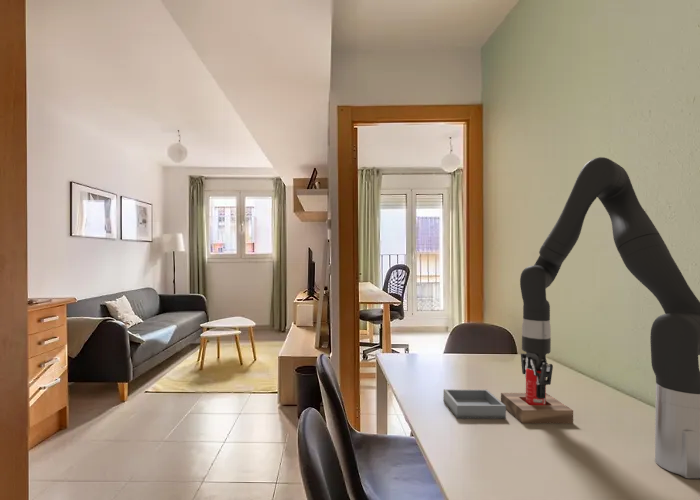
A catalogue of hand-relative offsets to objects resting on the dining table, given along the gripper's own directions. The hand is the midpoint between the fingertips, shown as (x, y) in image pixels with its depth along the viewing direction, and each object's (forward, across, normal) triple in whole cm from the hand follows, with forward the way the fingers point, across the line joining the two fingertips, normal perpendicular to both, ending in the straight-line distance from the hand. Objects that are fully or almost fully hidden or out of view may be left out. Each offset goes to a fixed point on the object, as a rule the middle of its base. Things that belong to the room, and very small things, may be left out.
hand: (535, 394), depth 117 cm
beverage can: (+5, 0, 0) cm, 5 cm away
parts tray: (+5, +3, +17) cm, 18 cm away
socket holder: (+6, 0, 0) cm, 6 cm away
